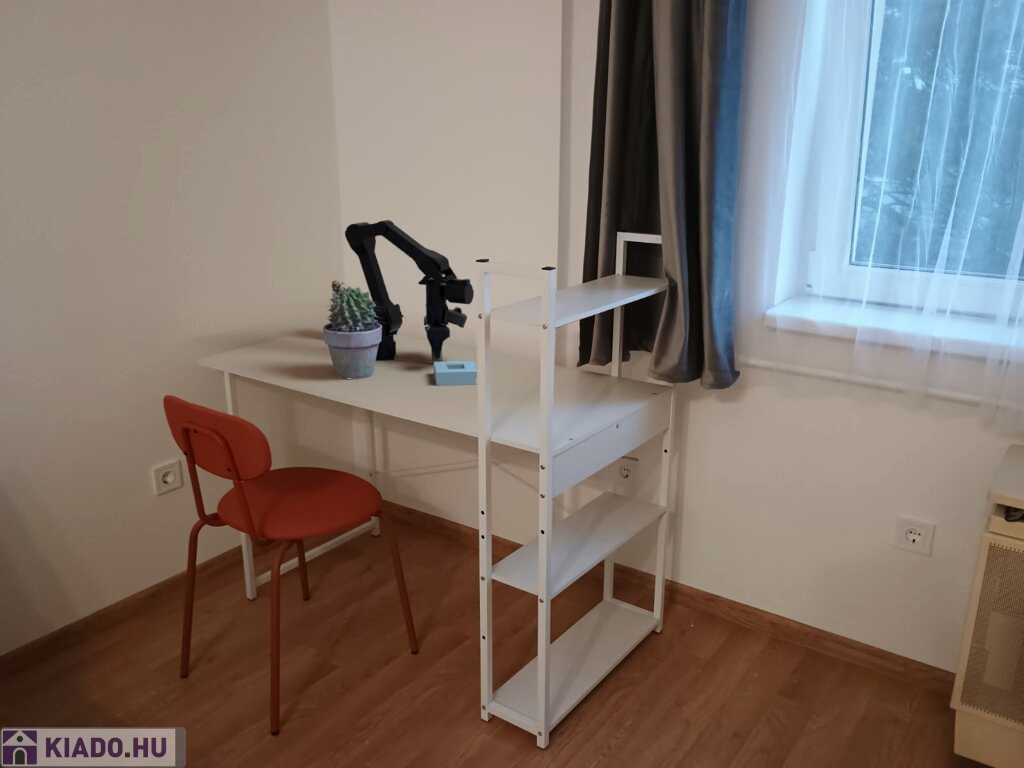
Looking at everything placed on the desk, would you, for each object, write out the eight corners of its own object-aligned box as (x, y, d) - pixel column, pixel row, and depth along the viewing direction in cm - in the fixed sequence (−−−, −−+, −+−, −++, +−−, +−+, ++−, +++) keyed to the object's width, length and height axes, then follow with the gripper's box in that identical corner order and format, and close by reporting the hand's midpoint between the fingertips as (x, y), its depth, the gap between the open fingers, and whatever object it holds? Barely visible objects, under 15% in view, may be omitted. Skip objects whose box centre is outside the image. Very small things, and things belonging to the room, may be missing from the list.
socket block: (436, 385, 231) (436, 372, 230) (433, 374, 241) (433, 361, 240) (478, 384, 232) (478, 371, 232) (474, 373, 243) (474, 360, 242)
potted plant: (379, 386, 229) (376, 291, 222) (309, 380, 234) (304, 286, 227) (403, 369, 246) (401, 279, 239) (337, 363, 250) (334, 276, 243)
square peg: (431, 365, 250) (431, 334, 247) (431, 363, 253) (430, 332, 250) (442, 365, 250) (442, 334, 248) (441, 362, 253) (441, 332, 251)
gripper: (468, 307, 239) (468, 363, 243) (462, 294, 257) (462, 347, 261) (426, 307, 237) (427, 364, 242) (423, 295, 255) (424, 347, 259)
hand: (436, 355), depth 251 cm, fingers open, 6 cm apart
